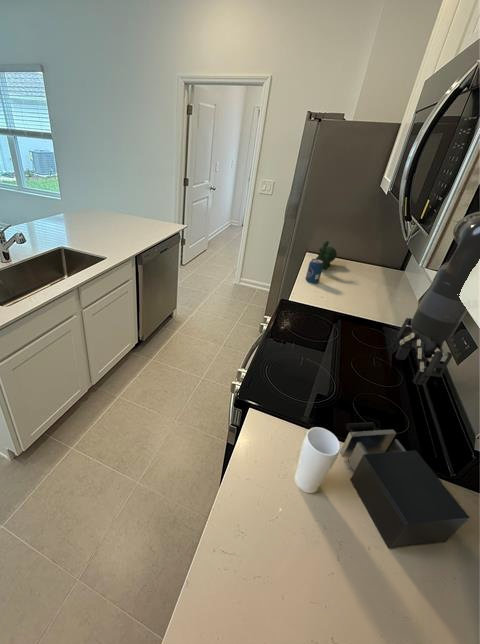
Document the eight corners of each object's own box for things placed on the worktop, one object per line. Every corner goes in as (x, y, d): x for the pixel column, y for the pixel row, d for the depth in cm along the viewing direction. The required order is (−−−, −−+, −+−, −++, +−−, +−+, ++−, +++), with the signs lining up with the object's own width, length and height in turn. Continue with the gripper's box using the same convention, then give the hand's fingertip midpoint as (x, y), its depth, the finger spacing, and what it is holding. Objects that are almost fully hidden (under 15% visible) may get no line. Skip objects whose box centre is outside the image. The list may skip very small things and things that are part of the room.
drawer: (331, 438, 80) (340, 418, 76) (371, 435, 81) (382, 415, 77) (369, 506, 66) (383, 485, 62) (418, 501, 67) (433, 481, 63)
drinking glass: (304, 502, 66) (322, 460, 59) (284, 474, 72) (299, 432, 64) (328, 490, 69) (348, 449, 61) (307, 464, 74) (323, 422, 67)
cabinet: (349, 479, 71) (363, 454, 67) (399, 475, 73) (415, 450, 68) (388, 548, 60) (407, 524, 55) (445, 542, 61) (470, 517, 56)
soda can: (302, 279, 168) (307, 258, 162) (313, 278, 169) (319, 258, 163) (309, 284, 162) (315, 263, 156) (321, 284, 164) (327, 263, 158)
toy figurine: (324, 277, 175) (337, 261, 192) (332, 246, 165) (345, 232, 181) (308, 272, 180) (321, 257, 197) (315, 242, 170) (329, 229, 186)
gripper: (483, 333, 57) (442, 395, 65) (439, 297, 70) (409, 353, 78) (441, 328, 58) (406, 390, 66) (404, 293, 70) (379, 349, 78)
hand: (408, 370), depth 72 cm, fingers open, 8 cm apart
